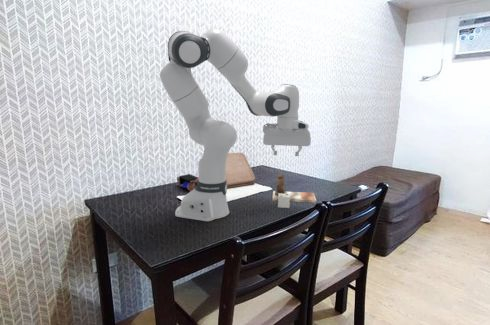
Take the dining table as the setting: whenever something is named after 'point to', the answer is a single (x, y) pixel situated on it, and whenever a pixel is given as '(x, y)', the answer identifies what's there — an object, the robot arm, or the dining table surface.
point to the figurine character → (186, 181)
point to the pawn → (280, 185)
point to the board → (298, 197)
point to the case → (238, 171)
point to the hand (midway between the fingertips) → (285, 155)
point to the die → (283, 200)
